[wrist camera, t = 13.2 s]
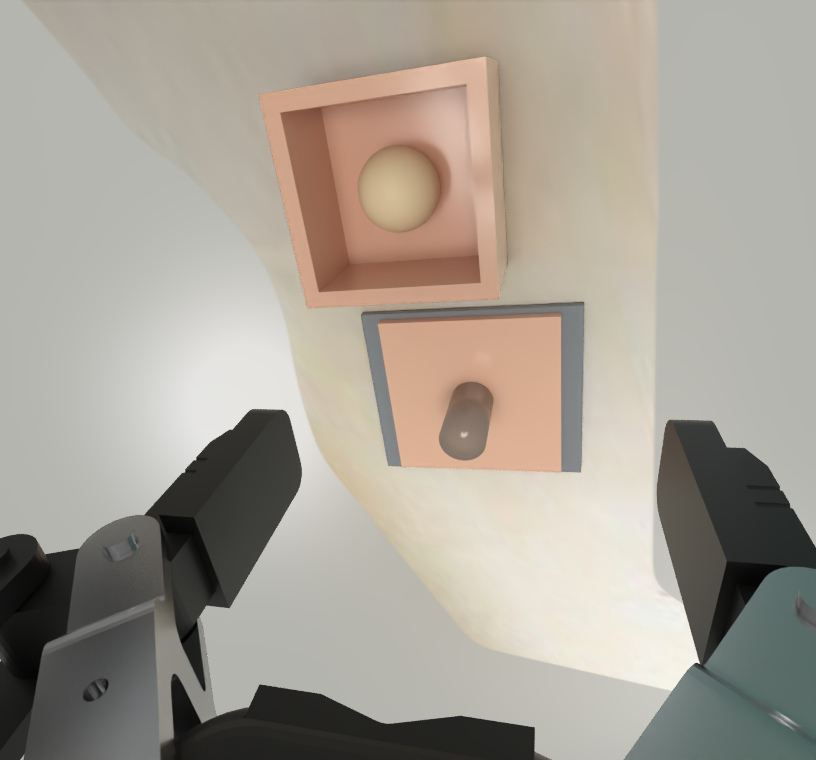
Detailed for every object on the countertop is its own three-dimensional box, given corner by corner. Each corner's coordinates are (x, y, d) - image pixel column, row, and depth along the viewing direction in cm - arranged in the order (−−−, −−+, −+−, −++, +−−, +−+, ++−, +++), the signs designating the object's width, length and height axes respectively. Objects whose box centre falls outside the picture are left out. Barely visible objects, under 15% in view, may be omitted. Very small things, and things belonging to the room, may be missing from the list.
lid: (403, 461, 46) (384, 510, 40) (380, 319, 40) (354, 355, 35) (561, 465, 42) (562, 520, 37) (560, 312, 37) (563, 351, 31)
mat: (389, 461, 47) (388, 465, 46) (363, 312, 41) (360, 315, 40) (580, 467, 43) (580, 472, 42) (583, 302, 37) (583, 305, 36)
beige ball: (377, 226, 36) (354, 244, 32) (365, 146, 34) (338, 155, 30) (449, 219, 35) (436, 237, 31) (442, 136, 33) (425, 144, 28)
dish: (343, 275, 40) (307, 308, 34) (309, 93, 34) (258, 94, 28) (507, 264, 37) (499, 298, 31) (498, 62, 31) (485, 56, 25)
